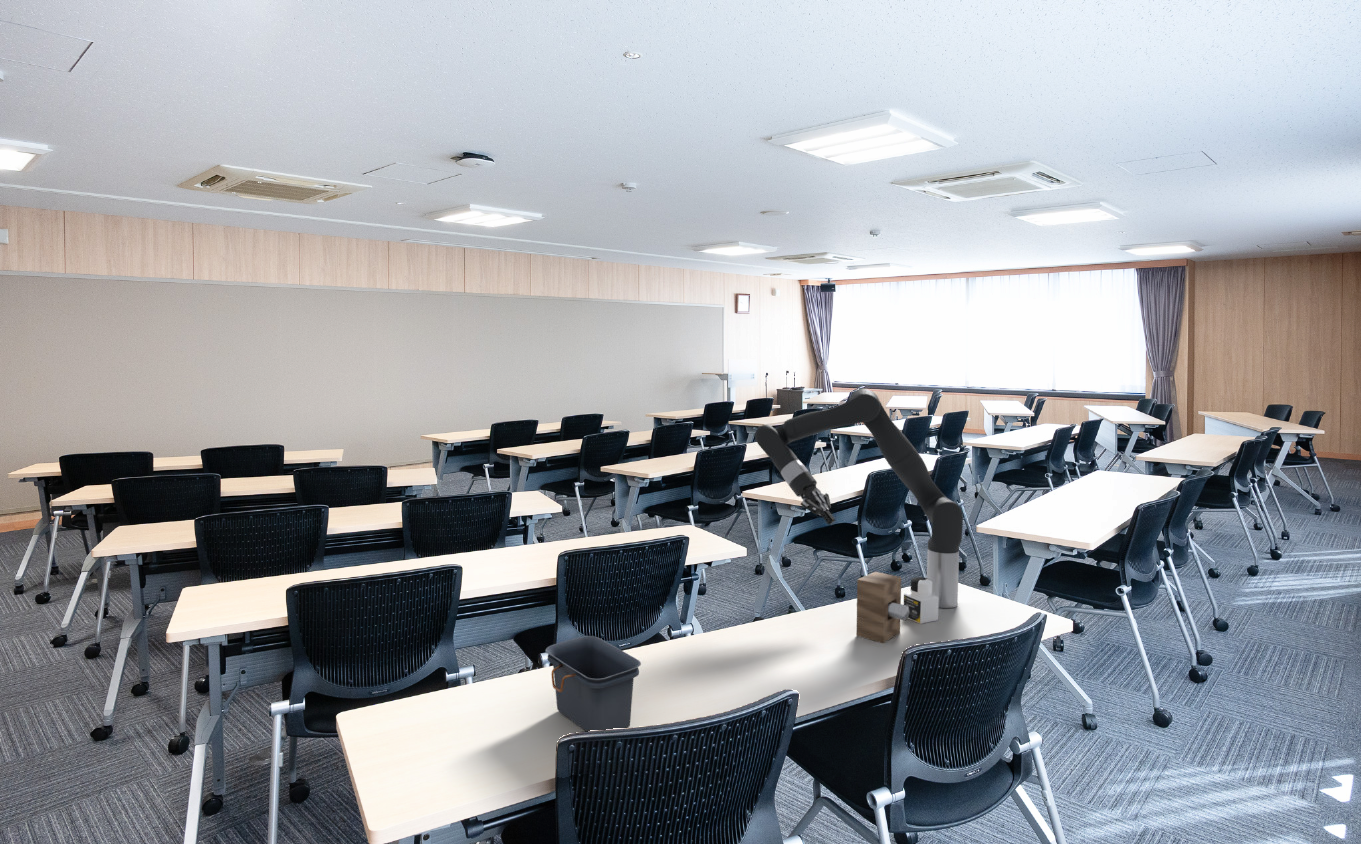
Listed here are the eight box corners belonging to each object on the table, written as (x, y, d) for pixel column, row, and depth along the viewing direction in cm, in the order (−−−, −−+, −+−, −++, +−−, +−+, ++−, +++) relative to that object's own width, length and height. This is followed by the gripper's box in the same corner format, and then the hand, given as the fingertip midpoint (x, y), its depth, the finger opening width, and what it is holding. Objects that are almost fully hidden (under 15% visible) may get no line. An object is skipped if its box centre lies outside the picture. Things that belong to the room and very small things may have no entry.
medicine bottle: (902, 616, 222) (903, 577, 221) (921, 613, 225) (922, 574, 224) (919, 624, 216) (920, 583, 215) (938, 620, 219) (939, 580, 218)
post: (874, 626, 214) (875, 571, 213) (900, 633, 209) (901, 577, 208) (856, 635, 207) (857, 579, 206) (882, 643, 202) (883, 585, 200)
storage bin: (648, 728, 156) (648, 662, 154) (585, 753, 146) (584, 683, 145) (592, 693, 172) (591, 633, 171) (532, 714, 162) (531, 650, 161)
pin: (867, 610, 213) (867, 589, 213) (910, 620, 204) (911, 599, 204) (856, 615, 209) (856, 594, 208) (900, 626, 200) (900, 604, 199)
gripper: (793, 472, 223) (828, 518, 216) (817, 467, 233) (851, 511, 226) (778, 488, 227) (812, 534, 220) (803, 482, 237) (836, 526, 230)
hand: (832, 522), depth 223 cm, fingers closed
